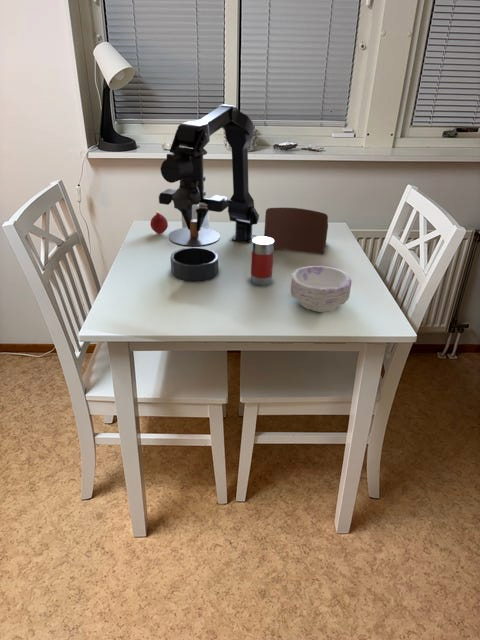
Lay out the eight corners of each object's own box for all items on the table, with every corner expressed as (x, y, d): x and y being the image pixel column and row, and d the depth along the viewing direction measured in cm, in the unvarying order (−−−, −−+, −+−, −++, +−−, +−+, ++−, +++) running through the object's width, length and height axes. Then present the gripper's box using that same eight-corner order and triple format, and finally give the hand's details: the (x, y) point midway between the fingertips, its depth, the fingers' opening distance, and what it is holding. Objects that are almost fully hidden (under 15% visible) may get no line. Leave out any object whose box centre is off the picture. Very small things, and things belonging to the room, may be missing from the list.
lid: (182, 227, 148) (181, 209, 145) (227, 234, 143) (227, 216, 141) (159, 244, 136) (158, 225, 133) (207, 252, 132) (207, 232, 129)
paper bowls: (313, 285, 138) (316, 259, 134) (358, 304, 129) (363, 277, 125) (277, 302, 129) (279, 275, 124) (323, 324, 119) (327, 296, 115)
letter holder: (323, 254, 157) (328, 212, 150) (263, 247, 161) (265, 206, 154) (326, 243, 166) (331, 202, 158) (268, 237, 169) (271, 197, 162)
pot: (184, 259, 151) (183, 244, 148) (224, 266, 147) (225, 251, 145) (163, 277, 140) (162, 261, 137) (206, 285, 136) (206, 269, 133)
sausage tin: (254, 275, 142) (256, 235, 136) (274, 279, 141) (277, 238, 134) (247, 284, 137) (248, 242, 131) (268, 288, 136) (270, 246, 129)
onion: (169, 231, 171) (168, 209, 167) (166, 237, 166) (164, 215, 162) (153, 230, 172) (152, 208, 168) (149, 236, 167) (147, 214, 163)
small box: (209, 230, 173) (209, 201, 168) (201, 235, 169) (201, 205, 164) (189, 226, 176) (188, 198, 171) (181, 231, 172) (180, 202, 166)
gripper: (146, 177, 126) (151, 234, 134) (213, 185, 121) (213, 244, 129) (166, 167, 135) (169, 222, 143) (229, 175, 130) (228, 231, 138)
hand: (194, 229), depth 138 cm, fingers closed on lid, 2 cm apart
